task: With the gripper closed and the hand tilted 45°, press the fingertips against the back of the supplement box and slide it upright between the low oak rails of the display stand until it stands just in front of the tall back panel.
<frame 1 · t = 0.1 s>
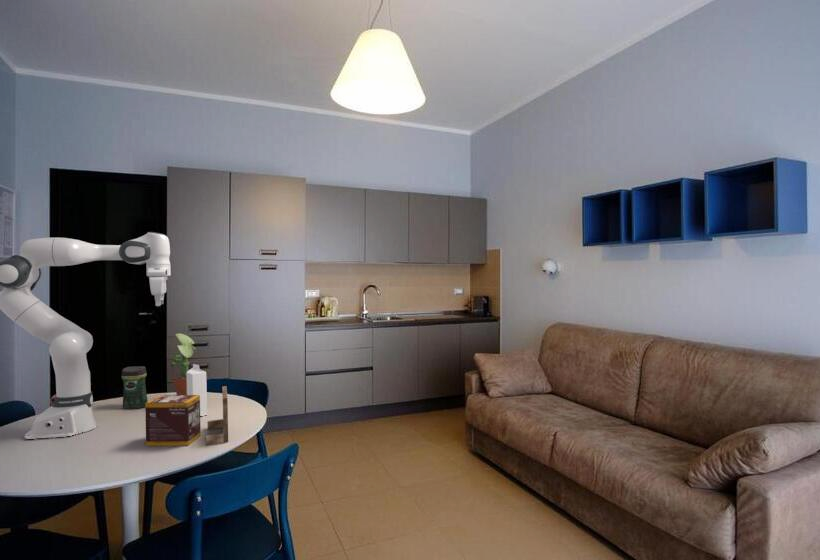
hand: (159, 305, 198), 48 cm above the table, tool pointing down, fingers open, 8 cm apart
potted plant: (189, 405, 221), on the table
display stand: (211, 435, 179), on the table
coffee jar: (135, 407, 218), on the table
supplement box: (174, 441, 174), on the table
milk: (197, 416, 204), on the table
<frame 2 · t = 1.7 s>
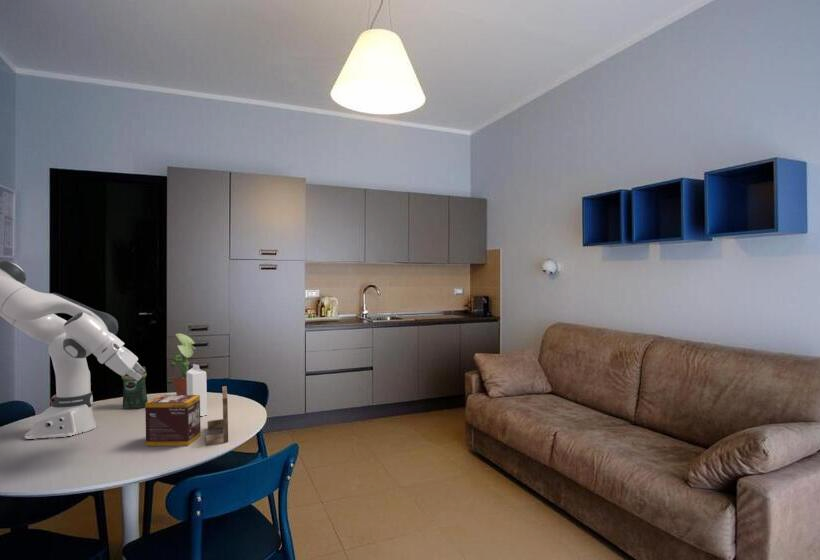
hand: (141, 375, 170), 25 cm above the table, tool tilted 45°, fingers open, 8 cm apart
nothing on the table moved.
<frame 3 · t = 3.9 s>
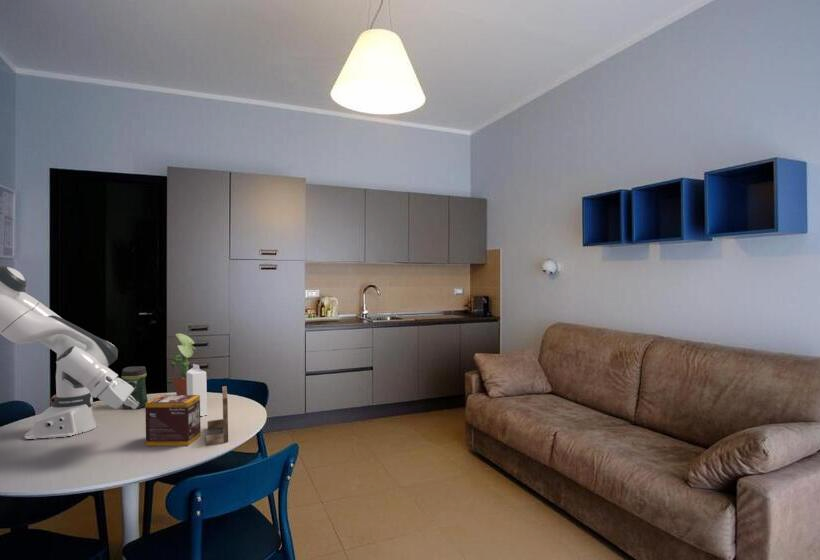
hand: (137, 406, 169), 14 cm above the table, tool tilted 45°, fingers closed
nothing on the table moved.
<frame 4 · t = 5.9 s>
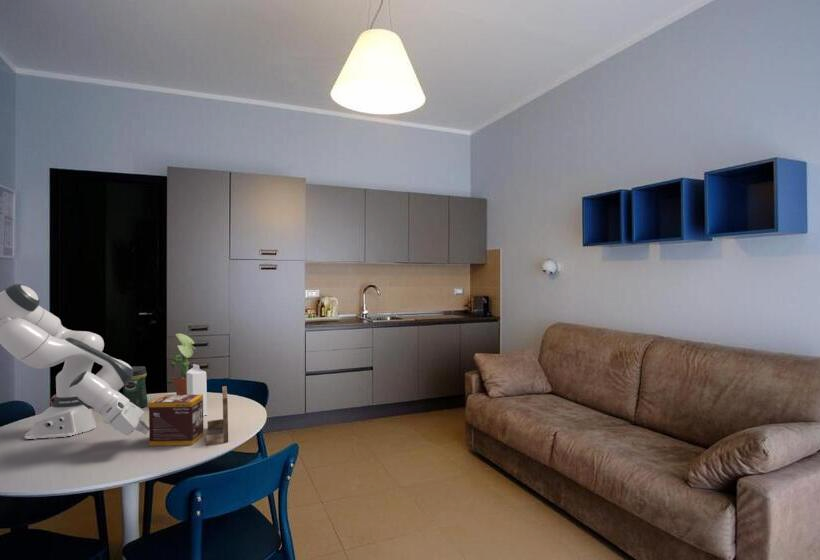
hand: (147, 431, 170), 5 cm above the table, tool tilted 45°, fingers closed
supplement box: (177, 440, 175), on the table, touching gripper
everything else where it was.
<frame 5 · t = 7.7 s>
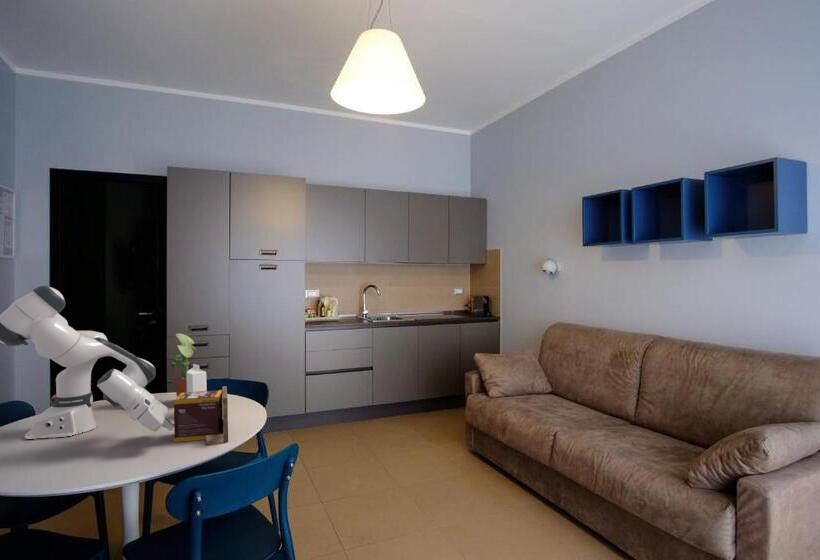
hand: (172, 428, 174), 5 cm above the table, tool tilted 45°, fingers closed
supplement box: (199, 436, 179), on the table, touching display stand, gripper
everything else where it was.
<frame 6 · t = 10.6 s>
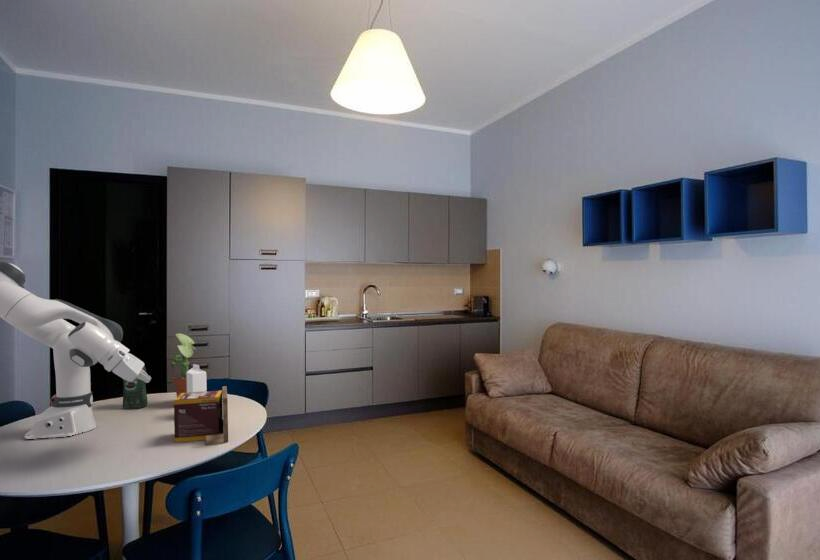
hand: (149, 380, 172), 23 cm above the table, tool tilted 45°, fingers closed
supplement box: (200, 436, 179), on the table
everything else where it was.
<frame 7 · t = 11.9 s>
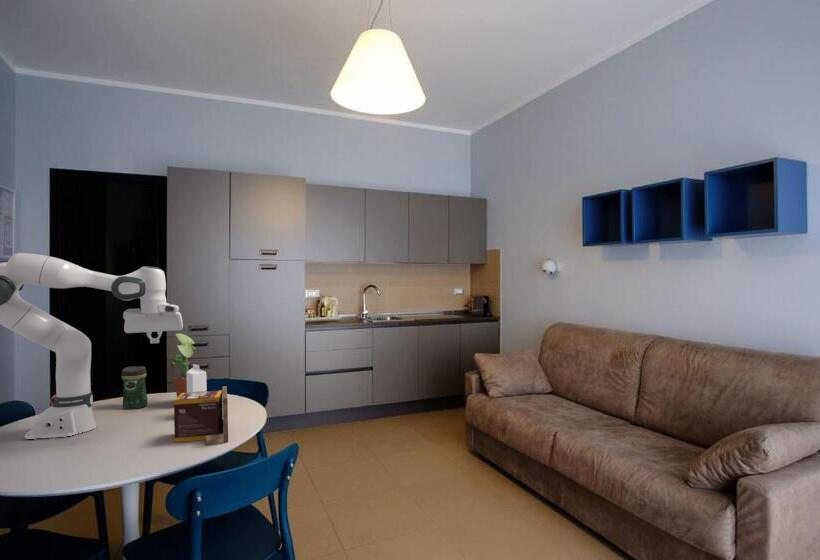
hand: (154, 343, 186), 34 cm above the table, tool pointing down, fingers closed
nothing on the table moved.
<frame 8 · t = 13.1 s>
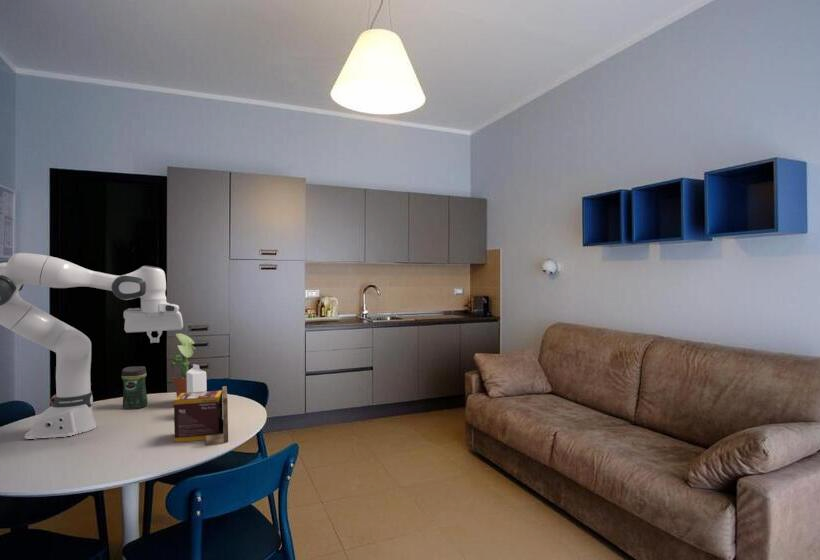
hand: (154, 342, 187), 34 cm above the table, tool pointing down, fingers closed
supplement box: (200, 436, 179), on the table, touching display stand
everything else where it was.
at the end: supplement box 2.0 cm from the target spot, on the table; supplement box tilted 0°; supplement box moved 8.7 cm from its start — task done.
